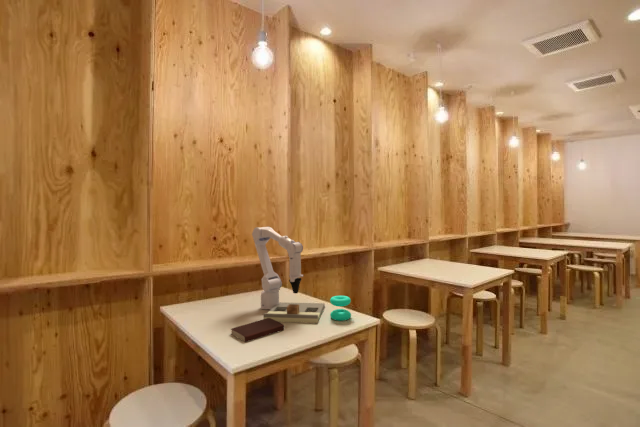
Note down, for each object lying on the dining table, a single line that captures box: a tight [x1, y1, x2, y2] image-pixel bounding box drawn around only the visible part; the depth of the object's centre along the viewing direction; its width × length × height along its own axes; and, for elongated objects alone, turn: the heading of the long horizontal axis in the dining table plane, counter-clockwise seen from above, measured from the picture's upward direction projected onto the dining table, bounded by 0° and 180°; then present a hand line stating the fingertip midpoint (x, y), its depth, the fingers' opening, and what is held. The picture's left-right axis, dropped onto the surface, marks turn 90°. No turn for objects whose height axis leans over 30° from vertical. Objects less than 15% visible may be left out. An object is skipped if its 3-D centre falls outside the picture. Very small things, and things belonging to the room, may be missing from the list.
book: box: [230, 318, 285, 343], centre depth 145 cm, size 12×19×3 cm, turn 132°
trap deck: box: [262, 301, 326, 324], centre depth 170 cm, size 26×25×4 cm
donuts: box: [329, 295, 352, 322], centre depth 162 cm, size 10×10×10 cm
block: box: [287, 304, 299, 314], centre depth 163 cm, size 5×5×4 cm
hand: (295, 293), depth 170 cm, fingers closed
